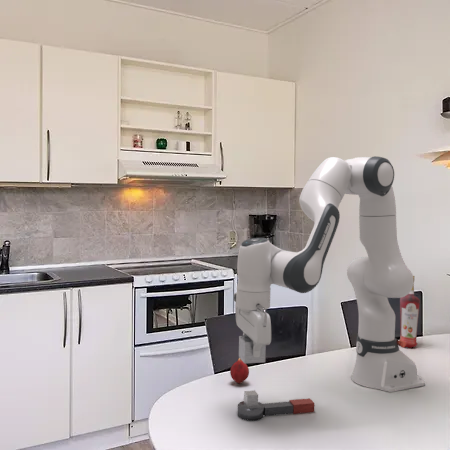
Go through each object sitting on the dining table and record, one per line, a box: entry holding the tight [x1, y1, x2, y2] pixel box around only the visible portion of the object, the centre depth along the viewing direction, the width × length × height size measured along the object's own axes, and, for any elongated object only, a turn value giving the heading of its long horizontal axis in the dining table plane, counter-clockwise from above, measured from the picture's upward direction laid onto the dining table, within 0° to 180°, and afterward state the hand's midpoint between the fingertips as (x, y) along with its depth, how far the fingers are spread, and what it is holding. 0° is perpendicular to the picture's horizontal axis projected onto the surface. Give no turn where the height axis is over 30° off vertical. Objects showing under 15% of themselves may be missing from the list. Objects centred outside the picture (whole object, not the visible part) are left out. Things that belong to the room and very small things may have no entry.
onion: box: [229, 357, 250, 385], centre depth 154 cm, size 6×6×8 cm
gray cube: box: [238, 335, 267, 365], centre depth 131 cm, size 6×6×6 cm
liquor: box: [399, 275, 421, 349], centre depth 195 cm, size 7×7×28 cm
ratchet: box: [236, 389, 315, 422], centre depth 133 cm, size 21×7×6 cm, turn 104°
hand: (252, 352), depth 131 cm, fingers closed on gray cube, 6 cm apart
